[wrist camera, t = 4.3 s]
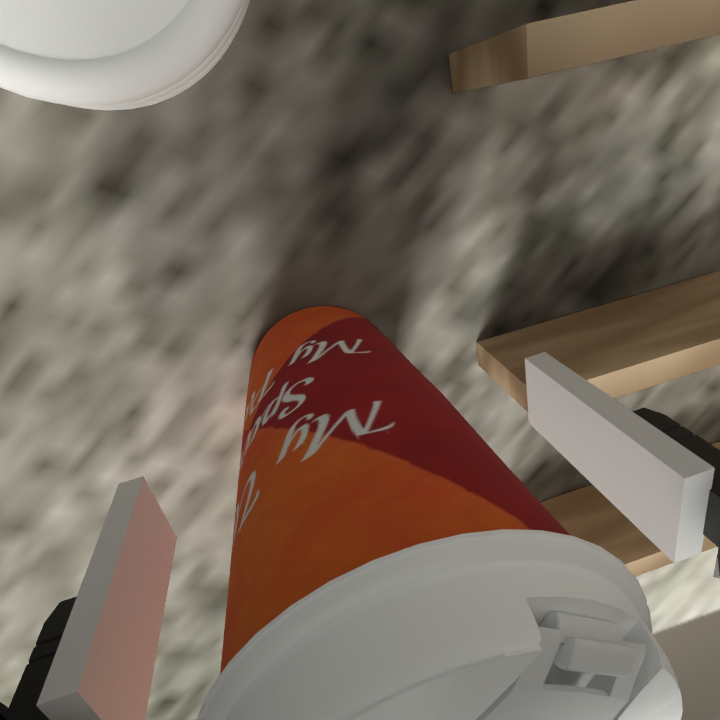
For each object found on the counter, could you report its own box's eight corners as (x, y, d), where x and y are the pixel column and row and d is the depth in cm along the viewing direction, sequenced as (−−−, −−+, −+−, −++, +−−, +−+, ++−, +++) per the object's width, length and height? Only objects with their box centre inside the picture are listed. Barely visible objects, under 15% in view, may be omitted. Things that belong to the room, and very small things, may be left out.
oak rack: (395, -503, 11) (498, -923, 7) (1001, -552, 13) (1390, -903, 9) (494, 532, 27) (543, 609, 23) (759, 442, 29) (851, 497, 25)
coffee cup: (270, 241, 18) (361, 565, 4) (446, 322, 21) (811, 655, 7) (190, 423, 20) (95, 988, 7) (359, 471, 23) (518, 922, 10)
